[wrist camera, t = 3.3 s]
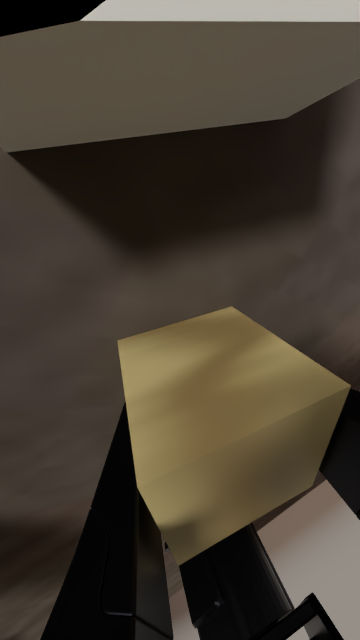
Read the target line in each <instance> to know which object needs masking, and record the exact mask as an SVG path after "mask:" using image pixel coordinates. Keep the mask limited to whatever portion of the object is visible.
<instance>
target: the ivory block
mask: <svg viewBox="0 0 360 640" xmlns="http://www.w3.org/2000/svg"><path fill="white" fill-rule="evenodd" d="M359 78H360V0H105V1H104V2H103V3H102V4H100V5H99V6H98V7H97V8H95V9H94V10H93V11H91V12H90V13H89V14H88V15H86V16H85V17H84V18H83V19H81V20H80V21H76V22H71V23H66V24H61V25H56V26H51V27H46V28H41V29H37V30H32V31H27V32H22V33H17V34H12V35H7V36H2V37H0V148H1V149H3V150H4V151H6V152H15V151H23V150H31V149H39V148H48V147H56V146H64V145H72V144H80V143H89V142H97V141H105V140H113V139H122V138H130V137H138V136H146V135H155V134H163V133H171V132H179V131H187V130H196V129H204V128H212V127H220V126H229V125H237V124H245V123H253V122H261V121H270V120H278V119H286V118H288V117H289V116H291V115H293V114H295V113H297V112H299V111H300V110H302V109H304V108H306V107H308V106H310V105H311V104H313V103H315V102H317V101H319V100H321V99H322V98H324V97H326V96H328V95H330V94H332V93H333V92H335V91H337V90H339V89H341V88H343V87H344V86H346V85H348V84H350V83H352V82H354V81H355V80H357V79H359Z"/></svg>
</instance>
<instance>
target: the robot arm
mask: <svg viewBox="0 0 360 640" xmlns="http://www.w3.org/2000/svg"><path fill="white" fill-rule="evenodd" d="M319 470H320V472H321V473H322V474H323V475H324V477H325V478H326V479H327V480H328V482H329V483H330V484H331V485H332V486H333V488H334V489H335V490H336V491H337V493H338V494H339V495H340V496H341V498H342V499H343V500H344V501H345V502H346V504H347V505H348V506H349V507H350V509H351V510H352V511H353V512H354V514H355V515H357V517H358V519H359V520H360V392H359V391H356V390H353V389H350V390H349V393H348V395H347V398H346V400H345V403H344V405H343V408H342V411H341V413H340V416H339V418H338V421H337V423H336V426H335V429H334V431H333V434H332V436H331V439H330V441H329V444H328V447H327V449H326V452H325V454H324V457H323V459H322V462H321V465H320V467H319ZM91 508H92V509H90V510H89V513H88V516H87V519H86V522H85V526H84V529H83V531H82V534H81V537H80V540H79V543H78V546H77V549H76V551H75V554H74V557H73V560H72V562H71V565H70V567H69V570H68V572H67V575H66V577H65V580H64V583H63V585H62V588H61V590H60V593H59V595H58V597H57V600H56V602H55V605H54V607H53V610H52V612H51V615H50V617H49V620H48V622H47V624H46V627H45V629H44V632H43V634H42V637H41V639H40V640H173V630H172V622H171V613H170V605H169V597H168V589H167V581H166V573H165V565H164V557H163V548H162V540H161V532H160V530H159V528H158V526H157V524H156V522H155V520H154V518H153V516H152V514H151V512H150V511H149V509H148V507H147V505H146V503H145V501H144V499H143V497H142V495H141V493H140V491H139V490H138V488H137V481H136V474H135V466H134V459H133V452H132V444H131V437H130V430H129V422H128V415H127V407H126V402H125V403H124V406H123V409H122V412H121V415H120V419H119V422H118V425H117V428H116V431H115V434H114V437H113V440H112V443H111V446H110V449H109V452H108V455H107V458H106V461H105V465H104V468H103V471H102V474H101V477H100V480H99V483H98V486H97V489H96V492H95V495H94V498H93V501H92V504H91ZM164 545H165V550H166V552H169V551H170V549H169V547H168V545H167V543H166V542H165V544H164ZM179 568H180V572H181V577H182V581H183V586H184V590H185V594H186V599H187V603H188V608H189V612H190V617H191V621H192V624H193V626H194V628H197V629H198V633H199V637H200V640H286V639H287V638H289V637H290V636H291V635H292V634H294V633H295V632H296V631H297V630H299V629H300V628H301V627H303V626H304V627H305V630H306V632H307V634H308V636H309V638H310V640H344V639H343V638H342V636H341V635H340V633H339V632H338V630H337V629H336V627H335V625H334V624H333V622H332V621H331V619H330V618H329V616H328V615H327V613H326V611H325V610H324V608H323V607H322V605H321V604H320V602H319V601H318V599H317V598H316V596H315V595H314V593H311V594H310V595H308V596H307V597H306V598H305V599H304V600H303V602H302V603H301V604H300V605H299V606H298V607H297V608H296V609H294V606H293V604H292V602H291V600H290V598H289V596H288V594H287V592H286V590H285V588H284V586H283V584H282V582H281V580H280V578H279V576H278V574H277V572H276V570H275V568H274V566H273V564H272V562H271V560H270V558H269V556H268V554H267V552H266V550H265V548H264V546H263V544H262V542H261V540H260V538H259V536H258V534H257V532H256V530H255V528H254V526H253V524H252V522H251V523H250V524H248V525H246V526H244V527H243V528H241V529H239V530H238V531H236V532H234V533H233V534H231V535H229V536H228V537H226V538H224V539H223V540H221V541H219V542H218V543H216V544H214V545H212V546H211V547H209V548H207V549H206V550H204V551H202V552H201V553H199V554H197V555H196V556H194V557H192V558H191V559H189V560H187V561H186V562H184V563H182V564H181V565H179Z"/></svg>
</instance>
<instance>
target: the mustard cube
mask: <svg viewBox="0 0 360 640" xmlns="http://www.w3.org/2000/svg"><path fill="white" fill-rule="evenodd" d="M118 348H119V356H120V363H121V370H122V378H123V385H124V393H125V400H126V407H127V415H128V422H129V430H130V437H131V444H132V452H133V459H134V466H135V474H136V481H137V488H138V490H139V491H140V493H141V495H142V497H143V499H144V501H145V503H146V505H147V507H148V509H149V511H150V512H151V514H152V516H153V518H154V520H155V522H156V524H157V526H158V528H159V530H160V531H161V533H162V535H163V537H164V539H165V541H166V543H167V545H168V547H169V549H170V551H171V552H172V554H173V556H174V558H175V560H176V562H177V564H178V566H179V565H181V564H182V563H184V562H186V561H187V560H189V559H191V558H192V557H194V556H196V555H197V554H199V553H201V552H202V551H204V550H206V549H207V548H209V547H211V546H212V545H214V544H216V543H218V542H219V541H221V540H223V539H224V538H226V537H228V536H229V535H231V534H233V533H234V532H236V531H238V530H239V529H241V528H243V527H244V526H246V525H248V524H250V523H251V522H253V521H255V520H256V519H258V518H260V517H261V516H263V515H265V514H266V513H268V512H270V511H271V510H273V509H275V508H276V507H278V506H280V505H282V504H283V503H285V502H287V501H288V500H290V499H292V498H293V497H295V496H297V495H298V494H300V493H302V492H303V491H305V490H307V489H308V488H310V487H312V485H313V483H314V480H315V477H316V475H317V472H318V470H319V467H320V465H321V462H322V459H323V457H324V454H325V452H326V449H327V447H328V444H329V441H330V439H331V436H332V434H333V431H334V429H335V426H336V423H337V421H338V418H339V416H340V413H341V411H342V408H343V405H344V403H345V400H346V398H347V395H348V393H349V390H350V387H351V385H350V384H348V383H346V382H345V381H343V380H342V379H340V378H339V377H337V376H336V375H334V374H333V373H331V372H330V371H328V370H327V369H325V368H324V367H322V366H321V365H319V364H318V363H316V362H315V361H313V360H312V359H310V358H309V357H307V356H306V355H304V354H303V353H301V352H300V351H298V350H297V349H295V348H294V347H292V346H291V345H289V344H288V343H286V342H285V341H283V340H282V339H280V338H279V337H277V336H276V335H274V334H273V333H271V332H270V331H268V330H267V329H265V328H264V327H262V326H261V325H259V324H258V323H256V322H255V321H253V320H252V319H250V318H249V317H247V316H246V315H244V314H243V313H241V312H240V311H238V310H236V309H235V308H233V307H232V306H231V307H228V308H225V309H221V310H218V311H215V312H211V313H208V314H205V315H201V316H198V317H195V318H191V319H188V320H185V321H181V322H178V323H174V324H171V325H168V326H164V327H161V328H158V329H154V330H151V331H148V332H144V333H141V334H138V335H134V336H131V337H128V338H124V339H121V340H118Z"/></svg>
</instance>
